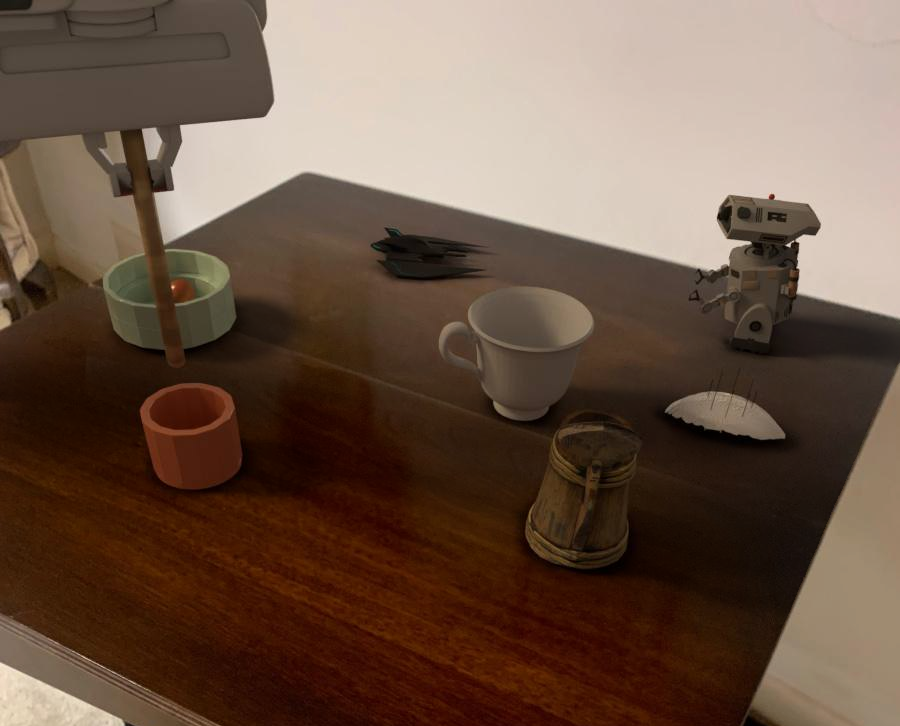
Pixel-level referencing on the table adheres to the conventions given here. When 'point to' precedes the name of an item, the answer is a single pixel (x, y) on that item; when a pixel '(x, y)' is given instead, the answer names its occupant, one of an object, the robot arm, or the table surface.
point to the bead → (182, 291)
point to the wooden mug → (585, 492)
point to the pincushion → (726, 414)
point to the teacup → (522, 347)
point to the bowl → (196, 317)
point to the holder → (192, 435)
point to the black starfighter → (418, 255)
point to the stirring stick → (153, 244)
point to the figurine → (759, 265)
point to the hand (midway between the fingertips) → (142, 191)
